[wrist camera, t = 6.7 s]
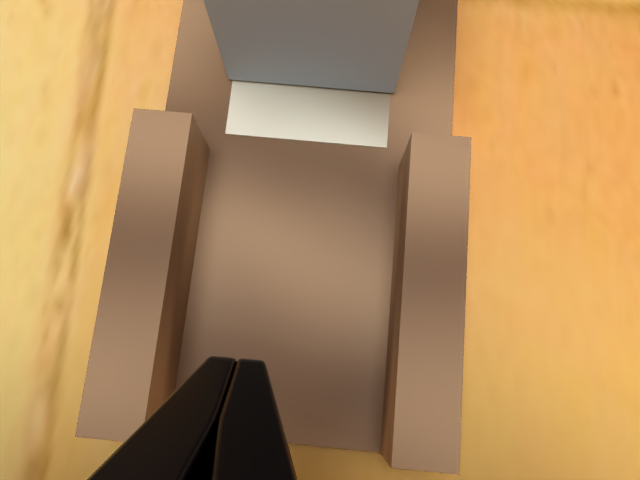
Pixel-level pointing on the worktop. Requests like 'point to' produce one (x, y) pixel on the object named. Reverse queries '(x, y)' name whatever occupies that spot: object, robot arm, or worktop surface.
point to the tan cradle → (295, 251)
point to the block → (314, 41)
